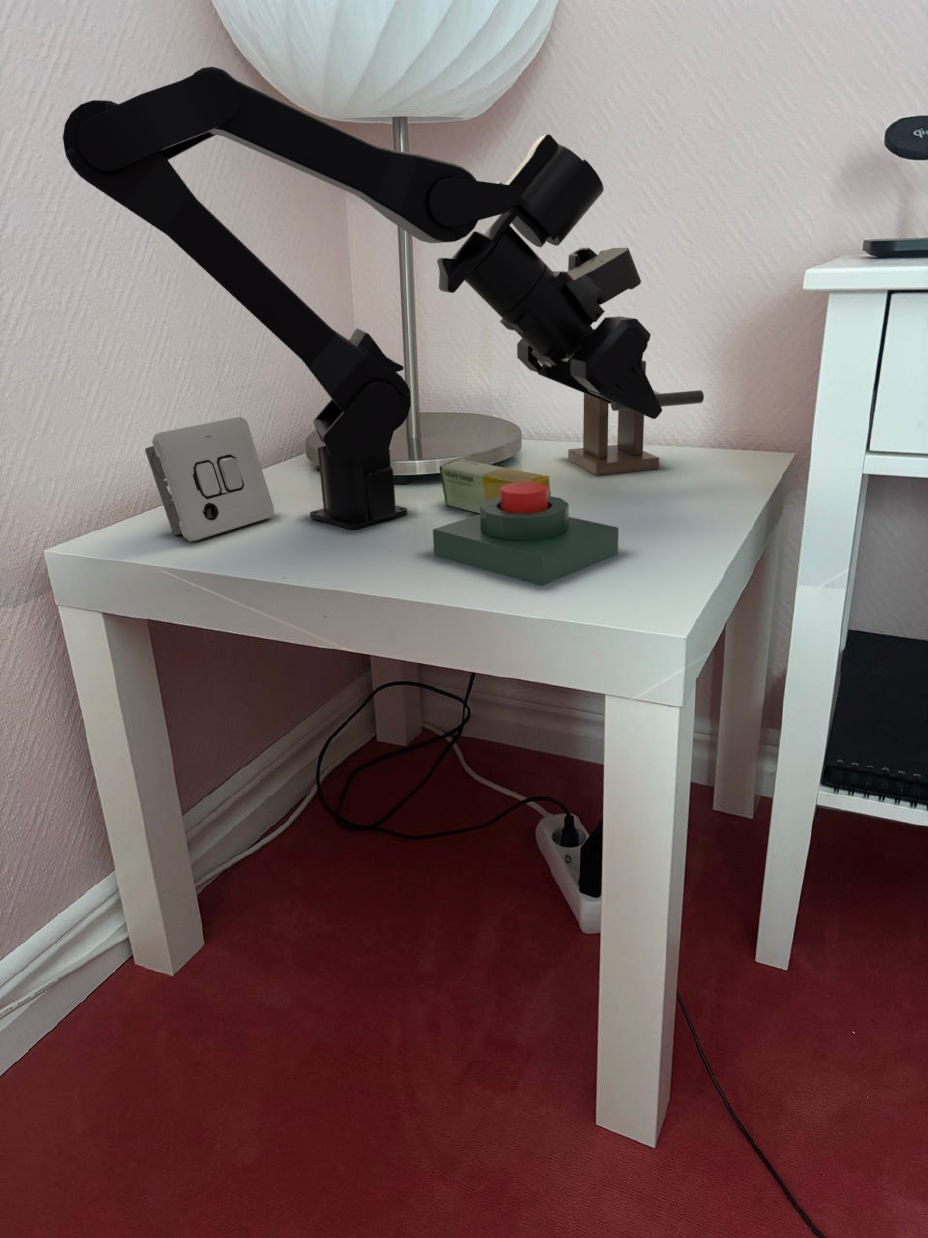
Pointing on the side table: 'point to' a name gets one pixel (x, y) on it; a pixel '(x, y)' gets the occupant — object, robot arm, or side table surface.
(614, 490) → the side table surface
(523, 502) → the button
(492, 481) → the medication box
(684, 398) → the lever
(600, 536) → the button box
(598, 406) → the bracket
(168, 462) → the electrical switch
